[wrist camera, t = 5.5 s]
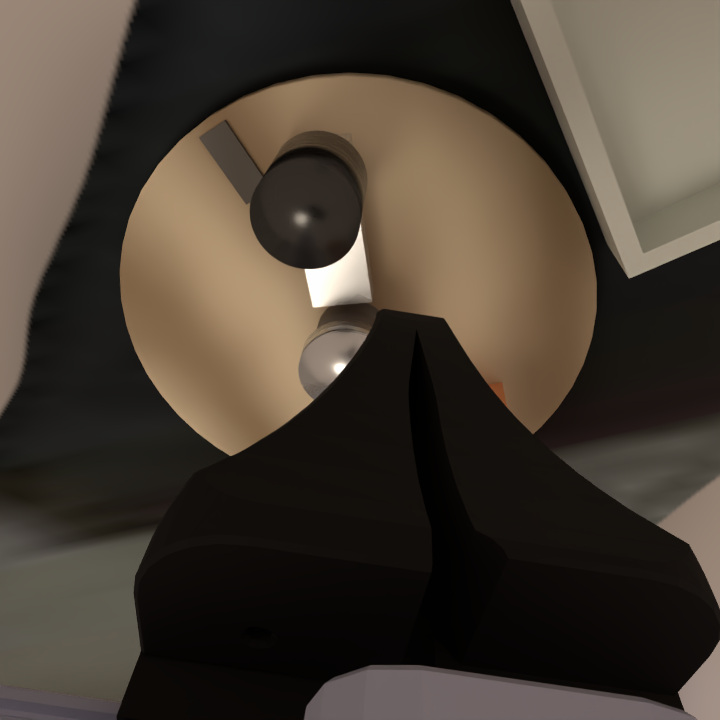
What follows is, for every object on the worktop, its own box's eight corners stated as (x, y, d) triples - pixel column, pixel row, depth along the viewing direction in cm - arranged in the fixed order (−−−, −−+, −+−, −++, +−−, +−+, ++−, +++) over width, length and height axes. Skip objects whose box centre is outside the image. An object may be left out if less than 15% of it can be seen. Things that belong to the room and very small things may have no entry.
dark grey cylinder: (414, 472, 25) (414, 549, 22) (339, 476, 26) (329, 551, 23) (369, 115, 17) (359, 155, 14) (262, 129, 18) (229, 171, 15)
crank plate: (296, 522, 30) (288, 564, 28) (30, 237, 22) (-8, 267, 20) (652, 395, 24) (673, 436, 22) (464, -58, 16) (472, -58, 14)
